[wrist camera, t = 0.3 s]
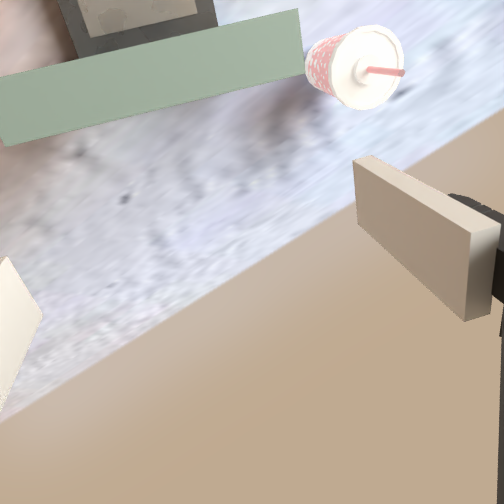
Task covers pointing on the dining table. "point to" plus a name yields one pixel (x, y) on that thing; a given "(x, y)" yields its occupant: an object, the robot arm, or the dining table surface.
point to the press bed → (132, 22)
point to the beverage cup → (357, 66)
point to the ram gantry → (149, 77)
